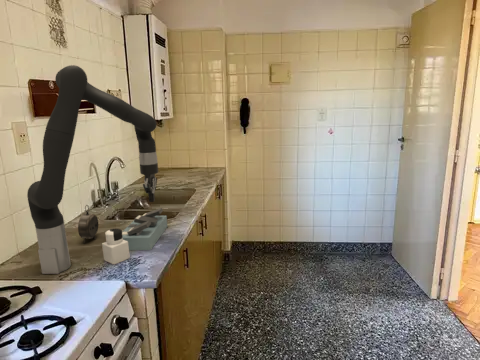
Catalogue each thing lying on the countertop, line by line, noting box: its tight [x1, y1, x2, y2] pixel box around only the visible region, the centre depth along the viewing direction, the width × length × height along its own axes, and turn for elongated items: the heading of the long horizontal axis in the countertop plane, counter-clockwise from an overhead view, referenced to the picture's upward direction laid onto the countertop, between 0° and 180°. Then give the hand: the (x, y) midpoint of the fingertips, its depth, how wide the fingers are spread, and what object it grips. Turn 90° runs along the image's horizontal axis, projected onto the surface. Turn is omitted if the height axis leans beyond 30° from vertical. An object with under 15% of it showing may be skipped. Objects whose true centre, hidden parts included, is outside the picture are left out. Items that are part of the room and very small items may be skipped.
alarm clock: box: [77, 204, 99, 244], centre depth 153 cm, size 11×5×16 cm, turn 177°
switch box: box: [122, 215, 168, 251], centre depth 154 cm, size 27×14×7 cm, turn 177°
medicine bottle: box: [101, 228, 131, 265], centre depth 133 cm, size 7×7×12 cm
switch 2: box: [133, 214, 158, 226], centre depth 153 cm, size 5×9×2 cm, turn 87°
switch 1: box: [142, 207, 164, 217], centre depth 162 cm, size 5×9×2 cm, turn 87°
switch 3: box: [127, 220, 151, 236], centre depth 144 cm, size 5×9×2 cm, turn 87°
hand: (152, 201), depth 151 cm, fingers closed
